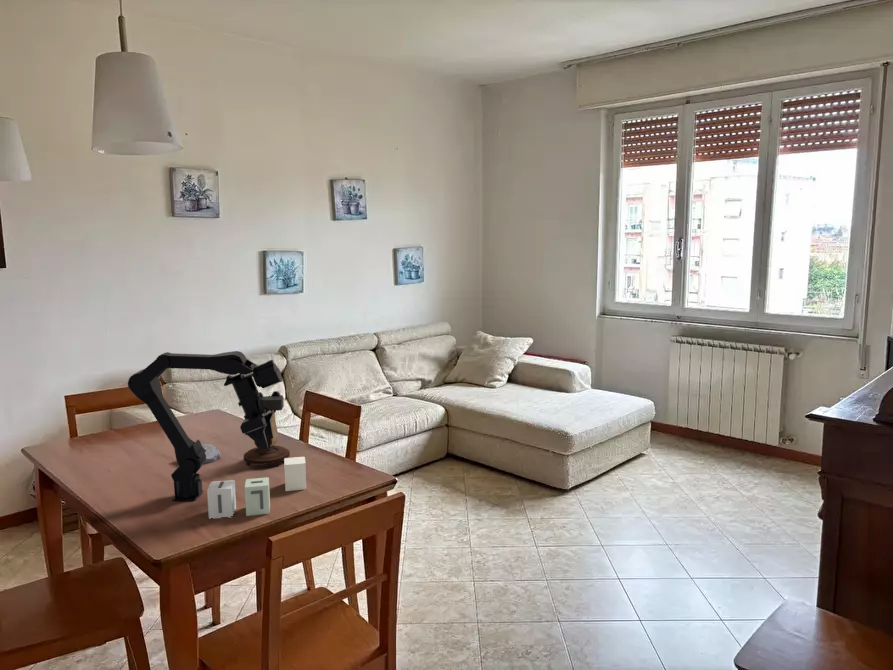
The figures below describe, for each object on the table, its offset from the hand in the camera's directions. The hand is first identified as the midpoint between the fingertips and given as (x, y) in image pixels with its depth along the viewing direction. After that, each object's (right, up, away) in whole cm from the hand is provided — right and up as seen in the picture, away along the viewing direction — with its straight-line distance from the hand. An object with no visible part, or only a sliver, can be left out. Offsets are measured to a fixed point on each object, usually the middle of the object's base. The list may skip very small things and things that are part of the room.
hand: (269, 443), depth 184 cm
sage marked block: (0, -16, -10) cm, 19 cm away
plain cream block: (+6, -14, +7) cm, 17 cm away
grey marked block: (-9, -17, -11) cm, 22 cm away
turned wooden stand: (-9, -11, +29) cm, 32 cm away
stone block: (-31, -11, +30) cm, 44 cm away
